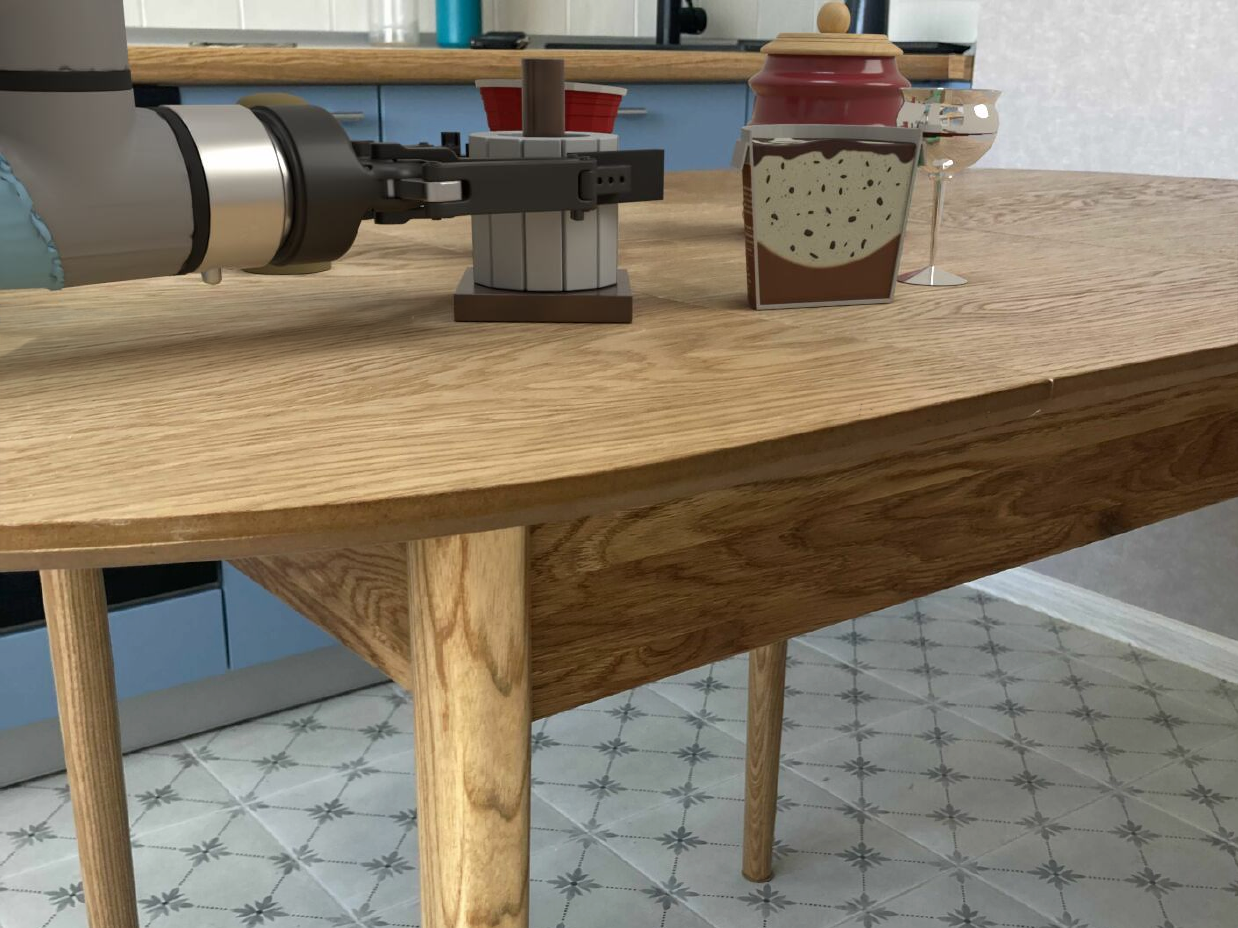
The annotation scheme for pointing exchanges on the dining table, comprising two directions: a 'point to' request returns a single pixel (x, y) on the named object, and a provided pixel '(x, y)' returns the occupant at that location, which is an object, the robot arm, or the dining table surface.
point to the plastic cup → (582, 105)
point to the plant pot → (544, 226)
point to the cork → (280, 100)
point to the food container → (825, 211)
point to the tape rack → (589, 305)
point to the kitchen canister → (828, 77)
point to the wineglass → (947, 149)
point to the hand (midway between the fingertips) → (605, 169)
